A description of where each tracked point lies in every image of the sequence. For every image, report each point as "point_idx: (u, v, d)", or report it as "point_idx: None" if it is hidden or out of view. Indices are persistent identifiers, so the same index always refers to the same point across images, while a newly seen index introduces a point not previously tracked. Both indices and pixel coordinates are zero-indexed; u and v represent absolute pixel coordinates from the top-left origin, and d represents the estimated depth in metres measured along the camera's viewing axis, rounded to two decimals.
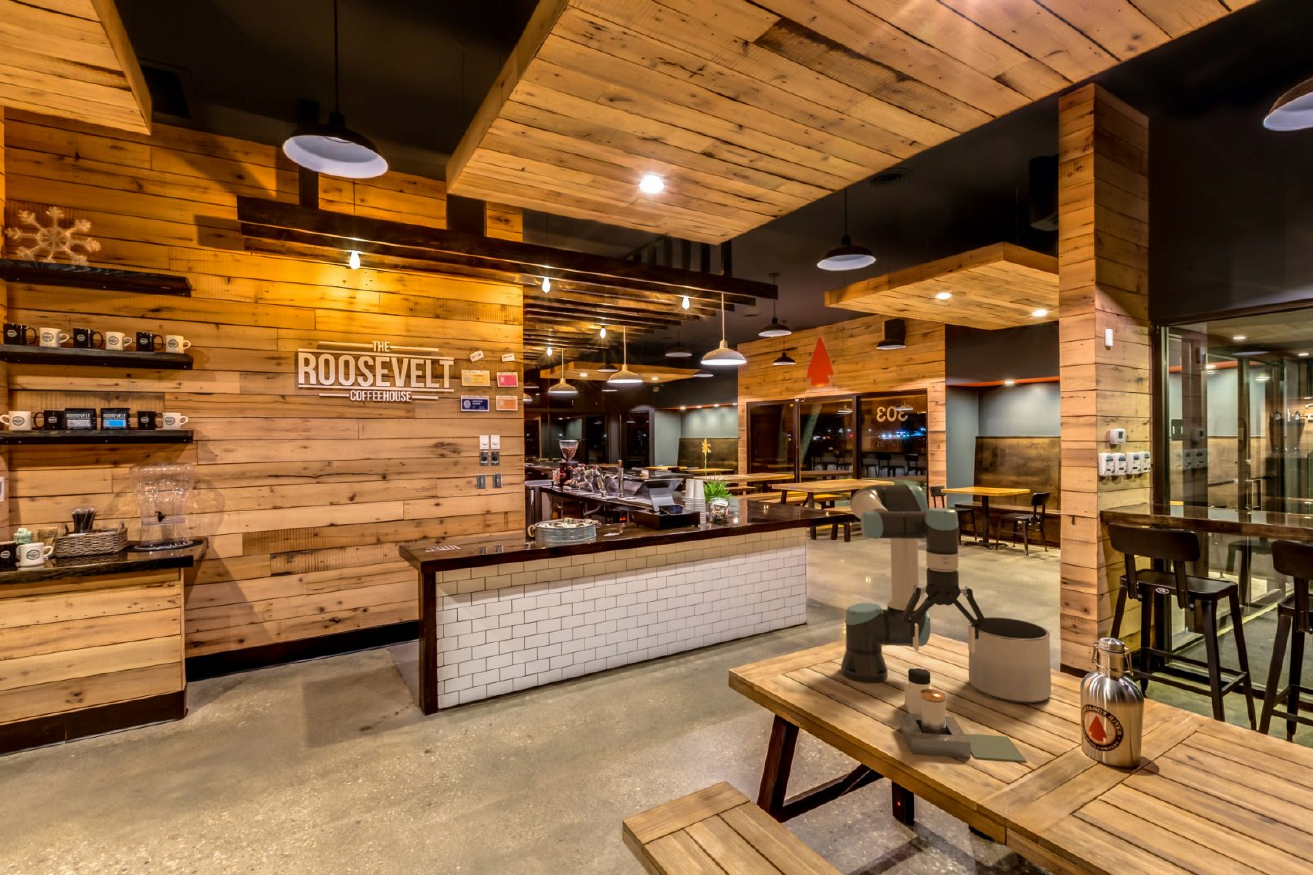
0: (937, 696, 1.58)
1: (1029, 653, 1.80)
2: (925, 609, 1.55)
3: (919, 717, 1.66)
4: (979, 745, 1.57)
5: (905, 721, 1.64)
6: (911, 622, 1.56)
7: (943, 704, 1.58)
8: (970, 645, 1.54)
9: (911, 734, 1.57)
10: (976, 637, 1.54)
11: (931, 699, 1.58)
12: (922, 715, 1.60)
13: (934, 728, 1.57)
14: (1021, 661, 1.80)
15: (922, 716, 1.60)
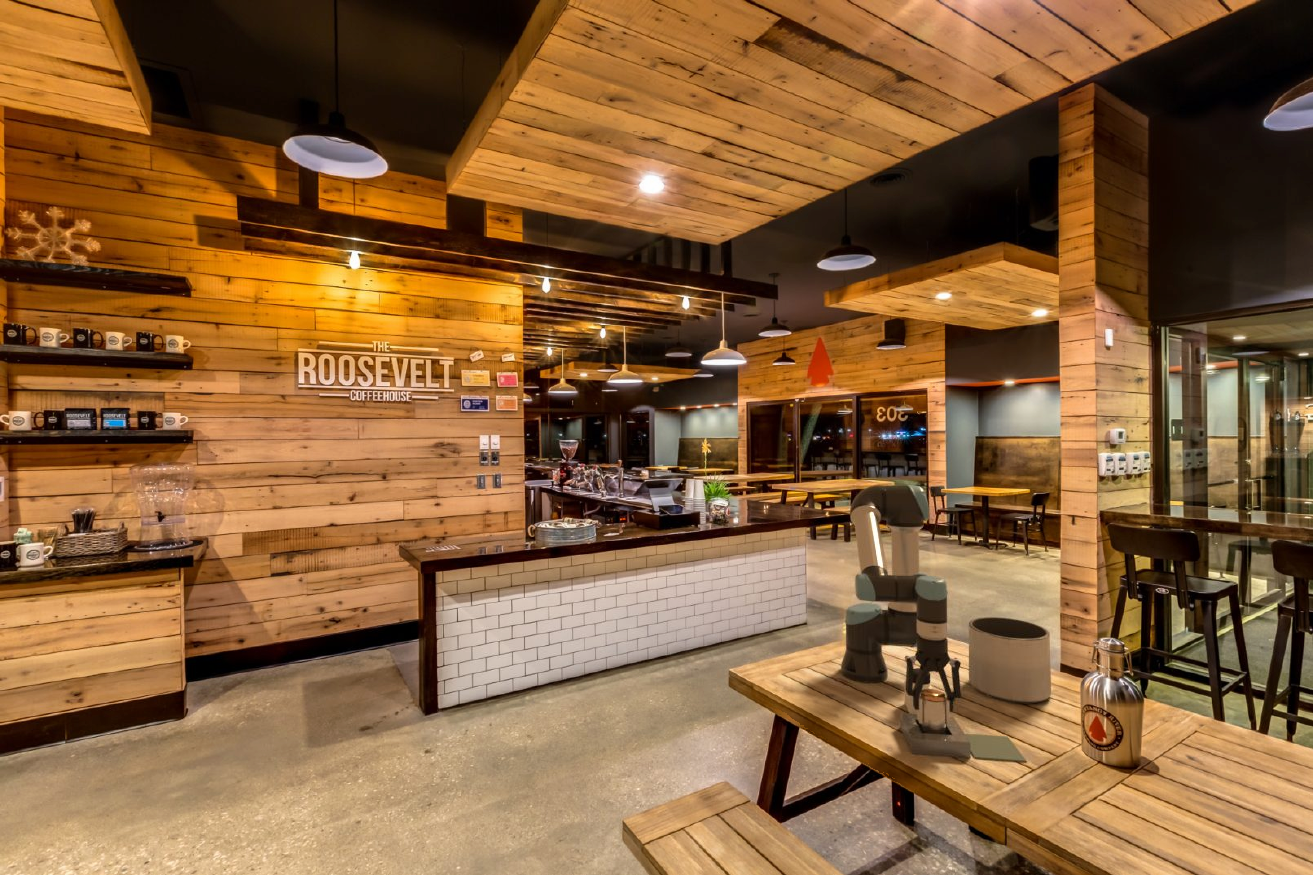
0: (937, 696, 1.58)
1: (1029, 653, 1.80)
2: (922, 679, 1.59)
3: None
4: (979, 745, 1.57)
5: (905, 721, 1.64)
6: (915, 696, 1.60)
7: (943, 704, 1.58)
8: None
9: (911, 734, 1.57)
10: (951, 710, 1.59)
11: (931, 699, 1.58)
12: None
13: (934, 728, 1.57)
14: (1021, 661, 1.80)
15: None
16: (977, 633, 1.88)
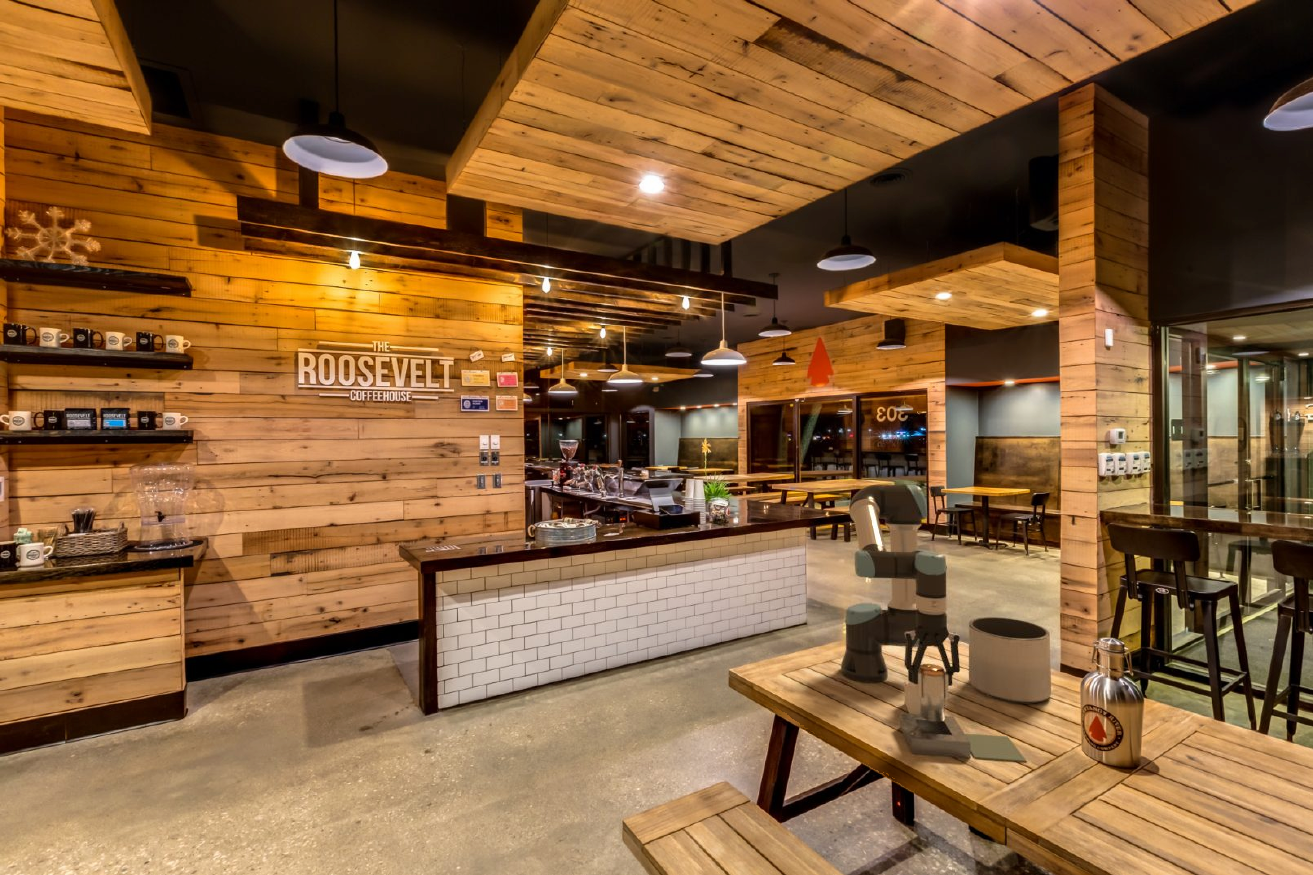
0: (936, 670, 1.59)
1: (1029, 653, 1.80)
2: (921, 654, 1.60)
3: (919, 717, 1.66)
4: (979, 745, 1.57)
5: (905, 721, 1.64)
6: (914, 670, 1.60)
7: (942, 678, 1.58)
8: None
9: (911, 734, 1.57)
10: (950, 684, 1.59)
11: (930, 673, 1.58)
12: None
13: (933, 702, 1.58)
14: (1021, 661, 1.80)
15: None
16: (977, 633, 1.88)
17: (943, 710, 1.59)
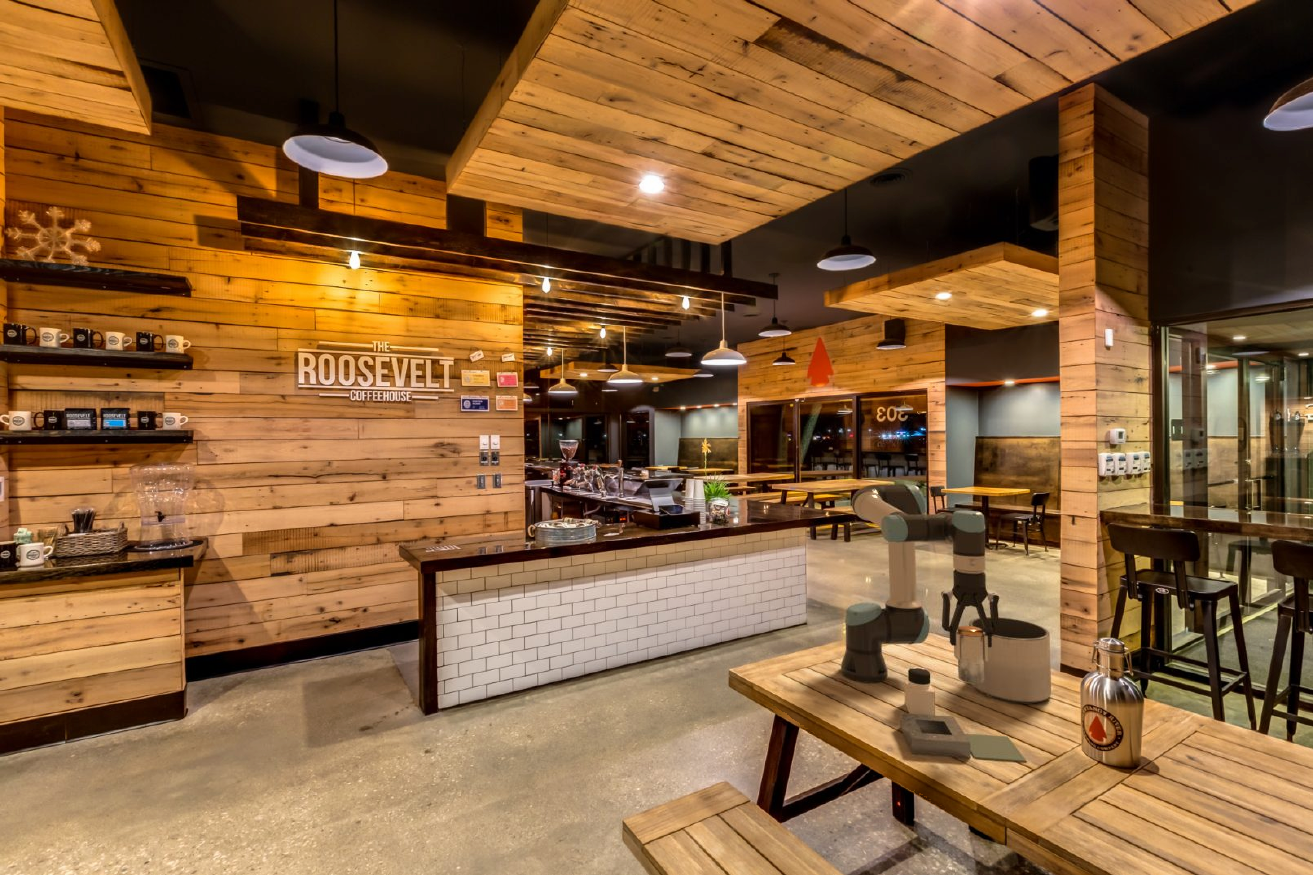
0: (975, 631, 1.56)
1: (1029, 653, 1.80)
2: (959, 614, 1.57)
3: (919, 717, 1.66)
4: (979, 745, 1.57)
5: (905, 721, 1.64)
6: (952, 631, 1.57)
7: (981, 639, 1.55)
8: None
9: (911, 734, 1.57)
10: (989, 645, 1.56)
11: (968, 634, 1.55)
12: None
13: (971, 663, 1.55)
14: (1021, 661, 1.80)
15: None
16: None
17: (982, 672, 1.55)
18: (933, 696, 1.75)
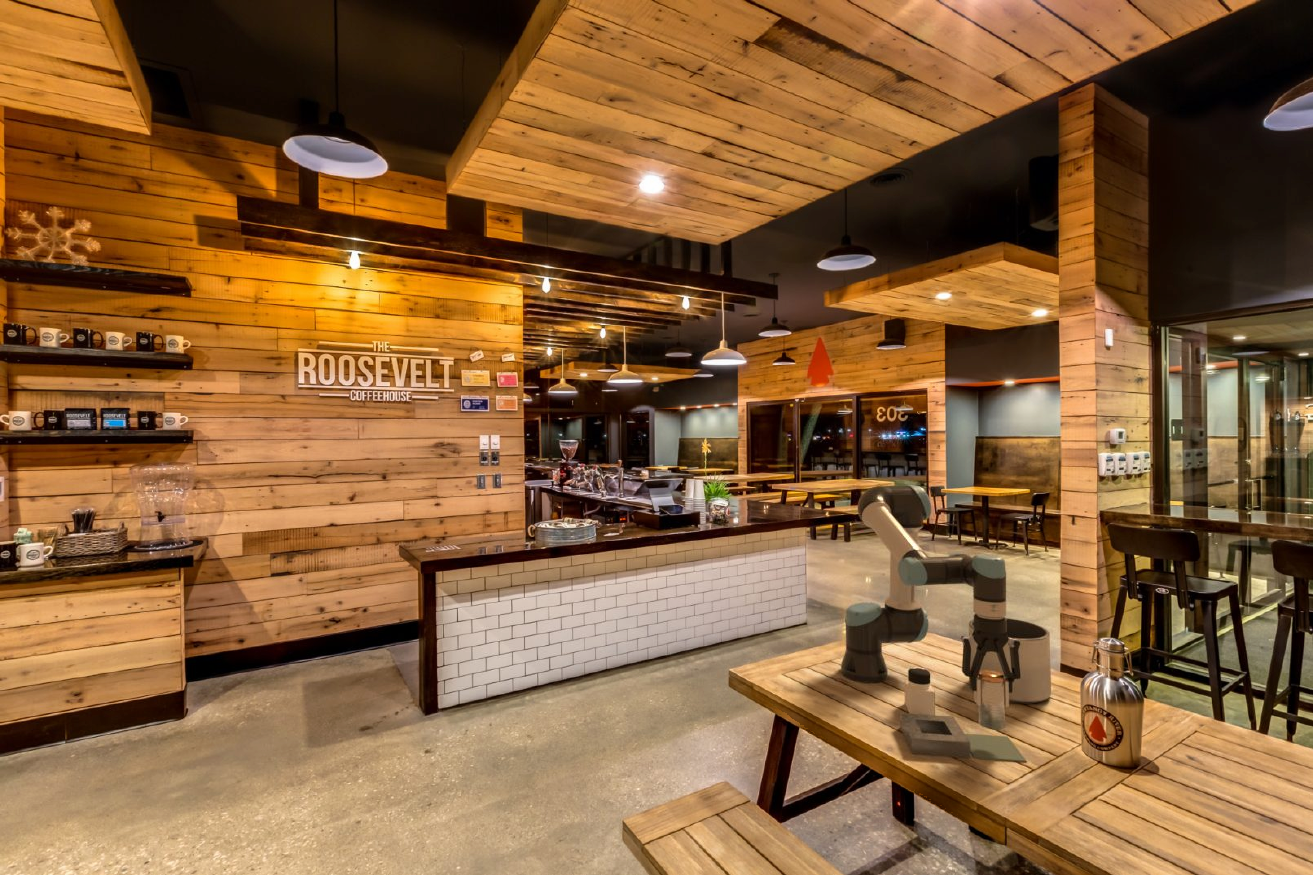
0: (996, 677, 1.55)
1: (1029, 653, 1.80)
2: (980, 660, 1.56)
3: (919, 717, 1.66)
4: (979, 745, 1.57)
5: (905, 721, 1.64)
6: (973, 677, 1.56)
7: (1002, 685, 1.54)
8: None
9: (911, 734, 1.57)
10: (1010, 691, 1.55)
11: (990, 680, 1.54)
12: None
13: (993, 709, 1.54)
14: (1021, 661, 1.80)
15: None
16: None
17: (1003, 718, 1.54)
18: (933, 696, 1.75)
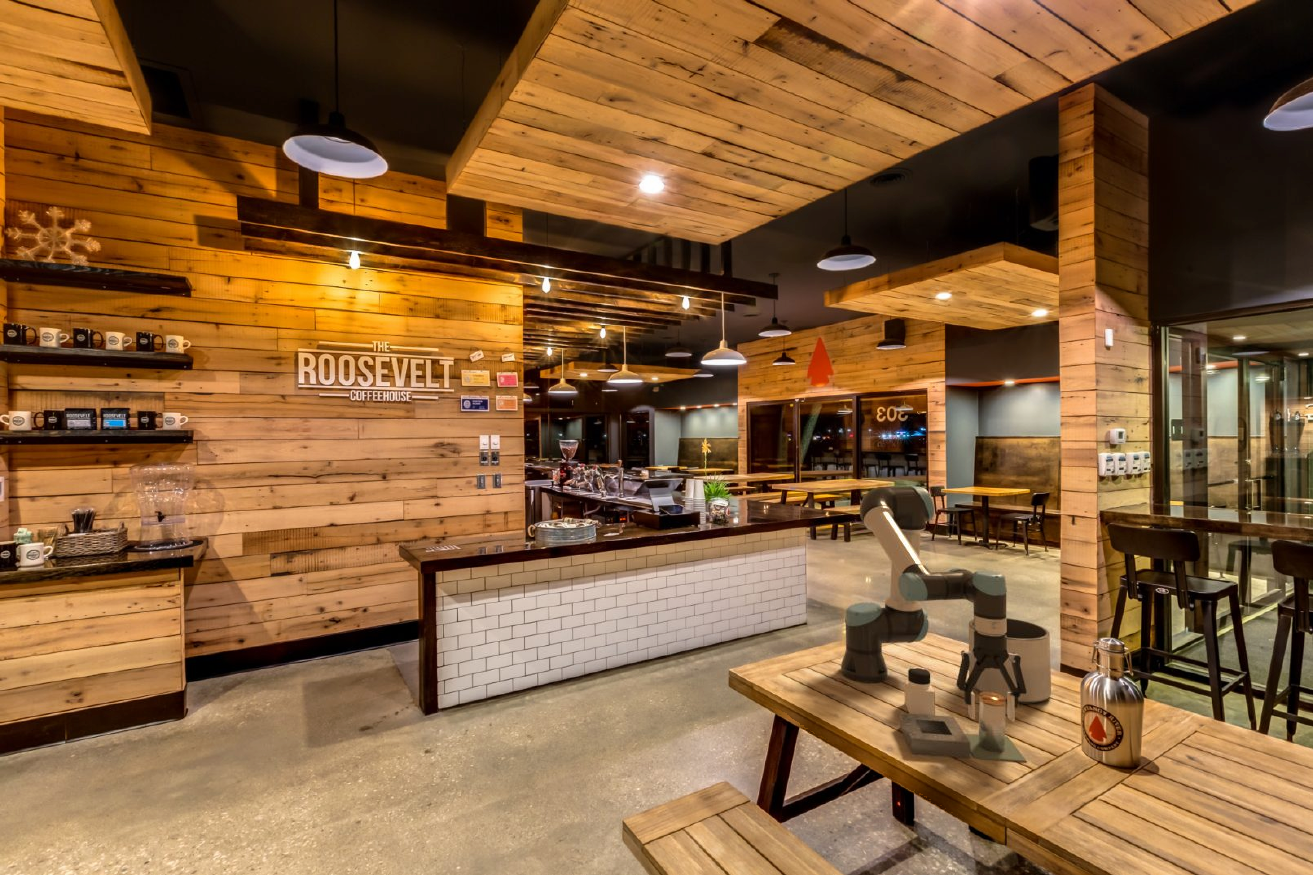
0: (997, 700, 1.55)
1: (1029, 653, 1.80)
2: (977, 675, 1.56)
3: (919, 717, 1.66)
4: (979, 745, 1.57)
5: (905, 721, 1.64)
6: (967, 691, 1.56)
7: (1003, 708, 1.54)
8: (1009, 713, 1.56)
9: (911, 734, 1.57)
10: (1016, 705, 1.55)
11: (991, 703, 1.54)
12: (981, 719, 1.56)
13: (993, 732, 1.54)
14: (1021, 661, 1.80)
15: (981, 720, 1.56)
16: None
17: (1004, 740, 1.54)
18: (933, 696, 1.75)
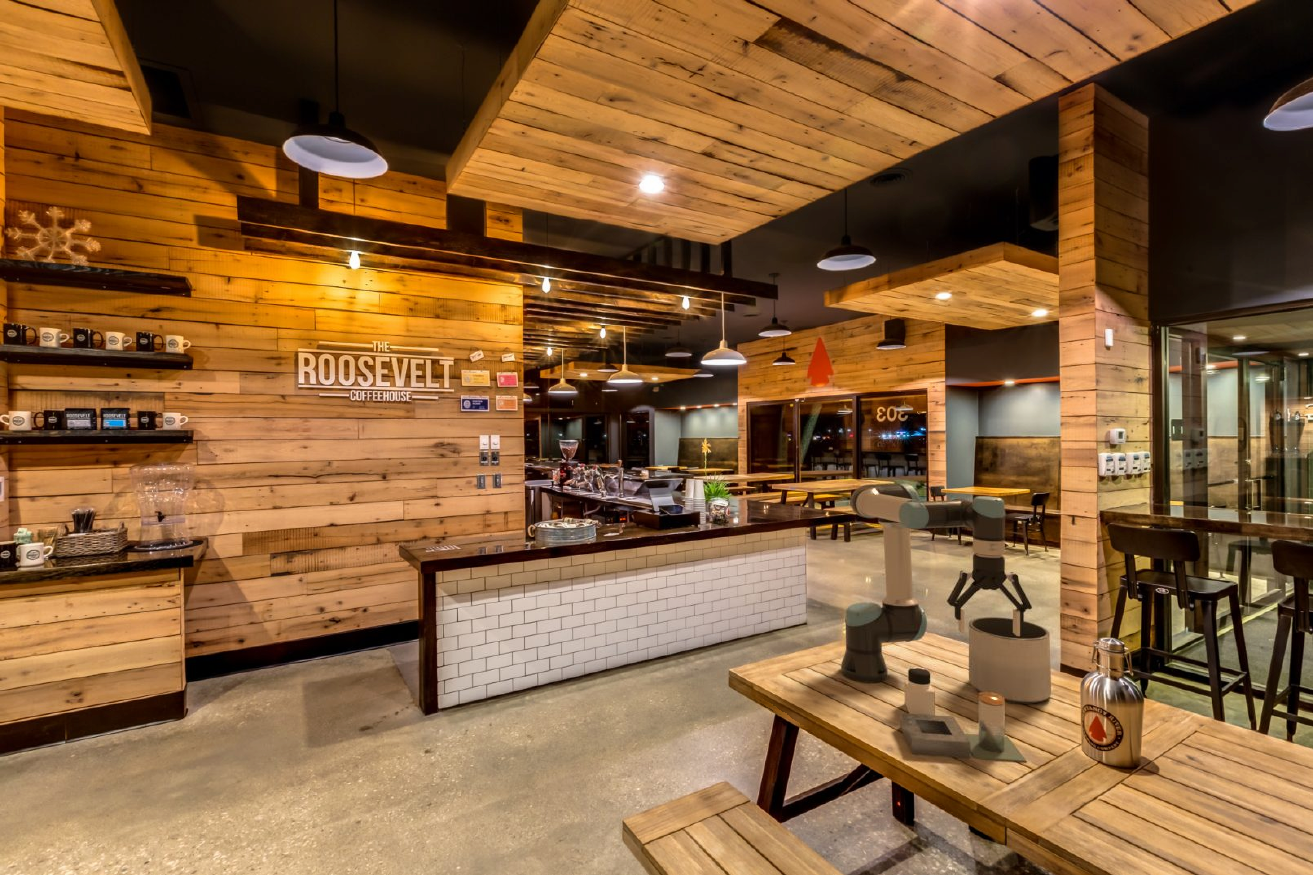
0: (996, 699, 1.55)
1: (1029, 653, 1.80)
2: (971, 593, 1.61)
3: (919, 717, 1.66)
4: None
5: (905, 721, 1.64)
6: (957, 606, 1.62)
7: (1003, 708, 1.54)
8: (1015, 628, 1.60)
9: (911, 734, 1.57)
10: (1021, 621, 1.59)
11: (990, 702, 1.54)
12: (980, 719, 1.56)
13: (993, 732, 1.54)
14: (1021, 661, 1.80)
15: (980, 720, 1.56)
16: (977, 633, 1.88)
17: (1003, 740, 1.54)
18: (933, 696, 1.75)
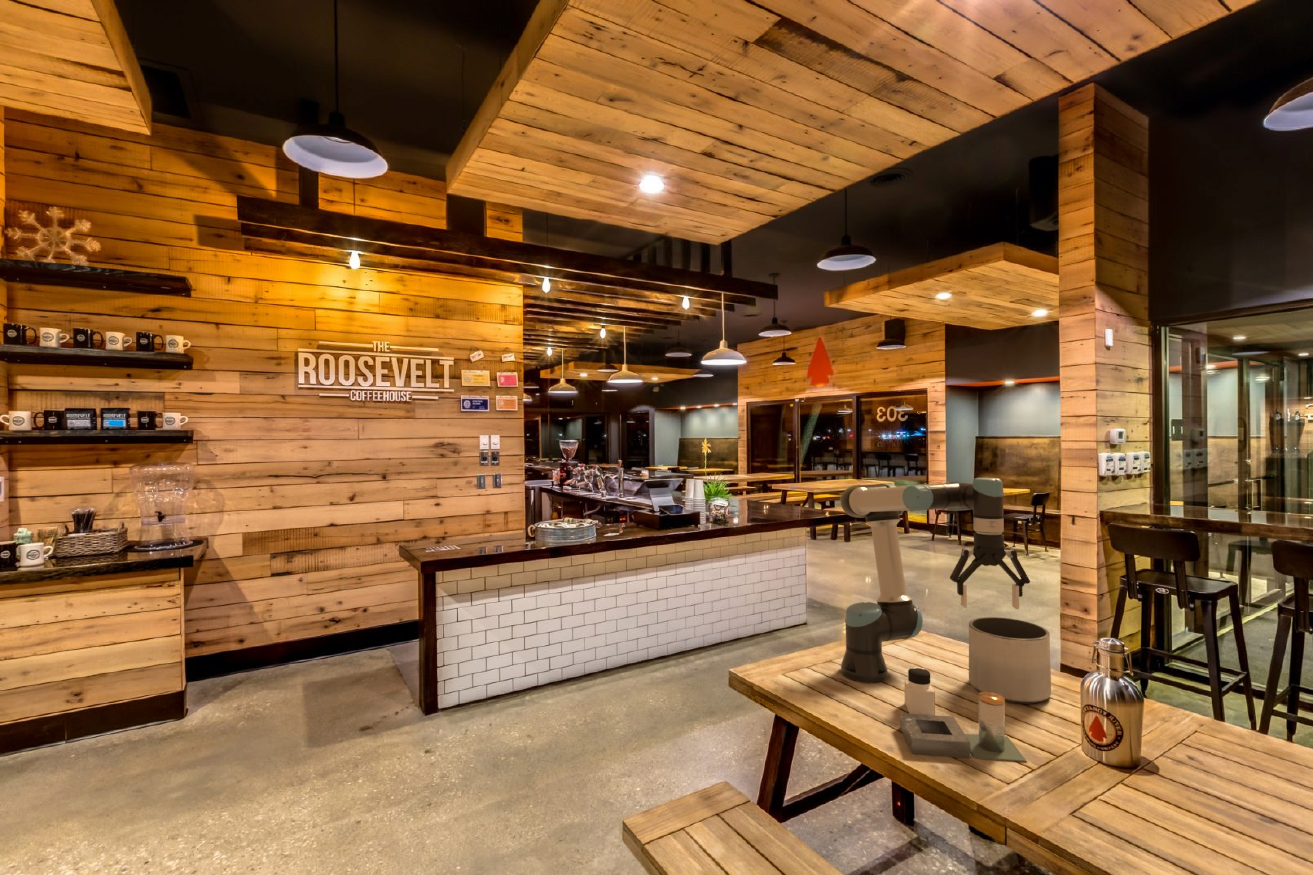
0: (996, 699, 1.55)
1: (1029, 653, 1.80)
2: (973, 569, 1.70)
3: (919, 717, 1.66)
4: None
5: (905, 721, 1.64)
6: (960, 581, 1.70)
7: (1003, 707, 1.54)
8: (1014, 602, 1.69)
9: (911, 734, 1.57)
10: (1020, 595, 1.68)
11: (991, 702, 1.54)
12: (980, 718, 1.56)
13: (993, 732, 1.54)
14: (1021, 661, 1.80)
15: (980, 719, 1.56)
16: (977, 633, 1.88)
17: (1003, 740, 1.54)
18: (933, 696, 1.75)
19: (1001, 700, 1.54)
